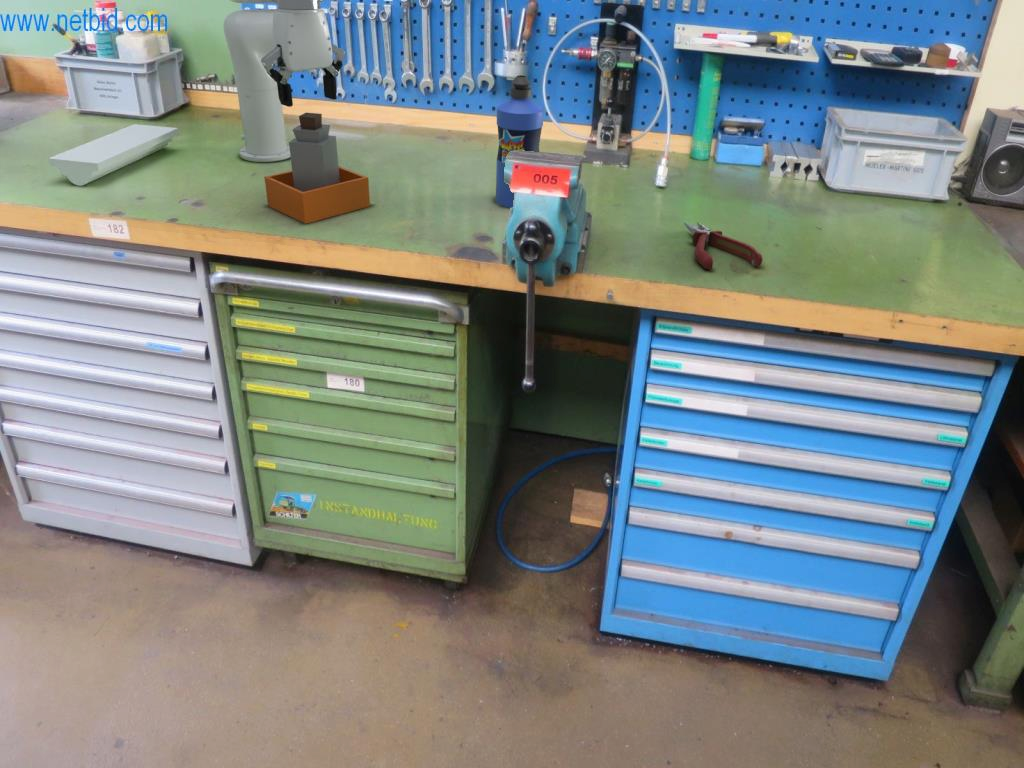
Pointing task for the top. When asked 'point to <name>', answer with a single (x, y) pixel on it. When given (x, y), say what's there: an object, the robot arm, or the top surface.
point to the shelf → (111, 152)
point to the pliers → (719, 246)
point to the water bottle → (516, 131)
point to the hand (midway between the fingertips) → (309, 101)
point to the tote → (317, 196)
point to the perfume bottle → (313, 154)
